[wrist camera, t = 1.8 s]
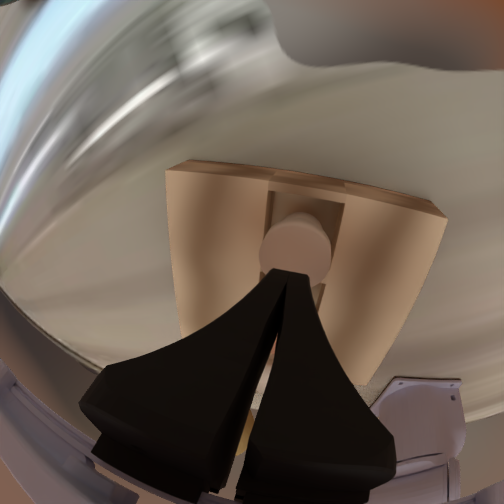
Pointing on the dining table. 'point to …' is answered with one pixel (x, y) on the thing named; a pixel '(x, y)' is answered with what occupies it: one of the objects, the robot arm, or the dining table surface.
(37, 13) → the dining table surface
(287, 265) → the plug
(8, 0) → the vase
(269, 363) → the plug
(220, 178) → the socket board
